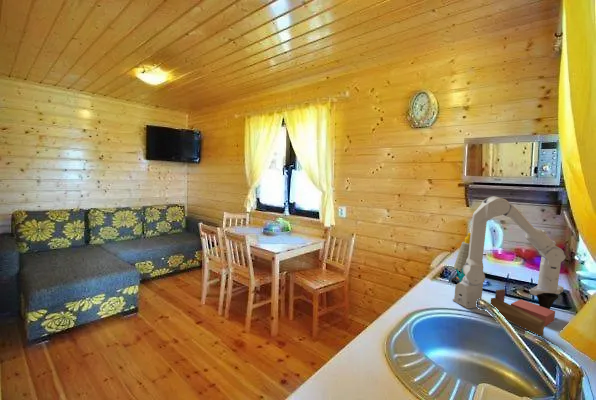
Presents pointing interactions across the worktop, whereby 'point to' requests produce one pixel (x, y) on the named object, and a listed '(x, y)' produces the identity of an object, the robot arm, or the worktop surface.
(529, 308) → the reddish rectangular block
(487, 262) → the worktop surface
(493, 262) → the worktop surface
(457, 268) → the stick construction toy
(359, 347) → the worktop surface
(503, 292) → the bookend
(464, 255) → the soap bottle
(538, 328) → the shelf wall
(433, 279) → the worktop surface
